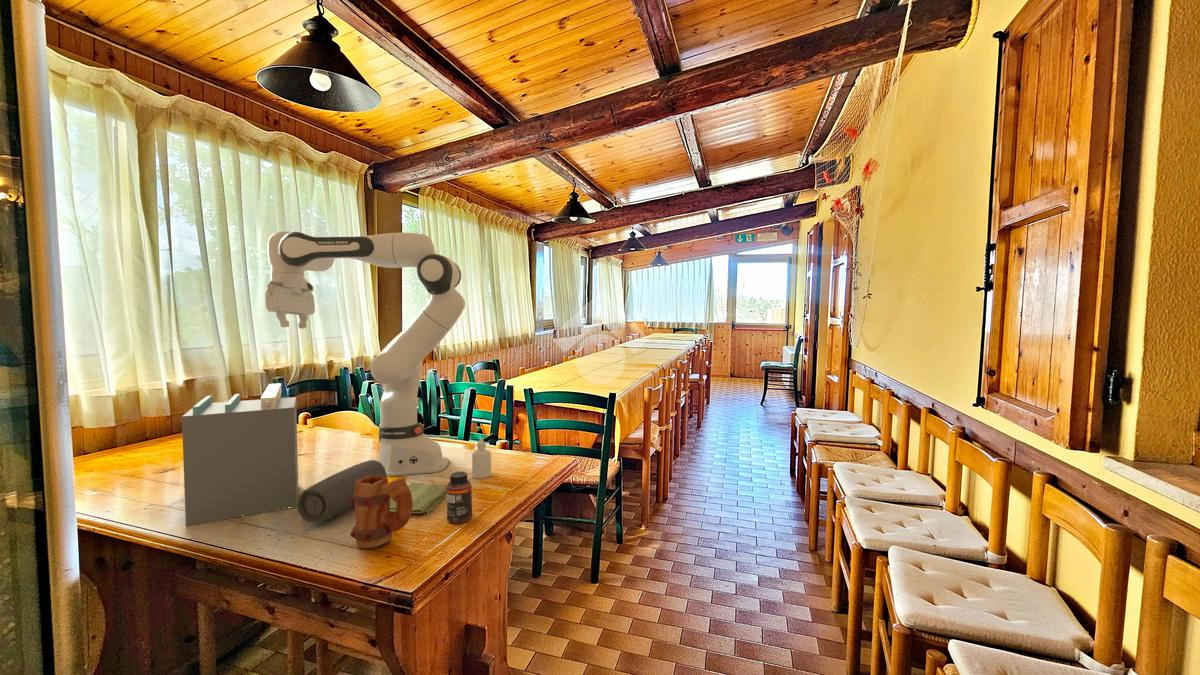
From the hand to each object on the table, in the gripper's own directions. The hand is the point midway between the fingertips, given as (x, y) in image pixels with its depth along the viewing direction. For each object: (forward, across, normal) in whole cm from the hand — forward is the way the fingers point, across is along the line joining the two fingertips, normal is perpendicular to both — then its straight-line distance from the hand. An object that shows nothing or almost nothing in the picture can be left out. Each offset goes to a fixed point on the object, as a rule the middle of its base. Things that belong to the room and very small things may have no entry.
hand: (294, 327), depth 151 cm
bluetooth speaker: (+52, -28, -23) cm, 63 cm away
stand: (+47, -24, +4) cm, 53 cm away
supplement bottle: (+56, -36, -53) cm, 85 cm away
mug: (+55, -48, -40) cm, 84 cm away
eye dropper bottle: (+54, -5, -53) cm, 76 cm away
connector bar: (+22, -20, -3) cm, 30 cm away
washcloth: (+54, -24, -40) cm, 71 cm away
